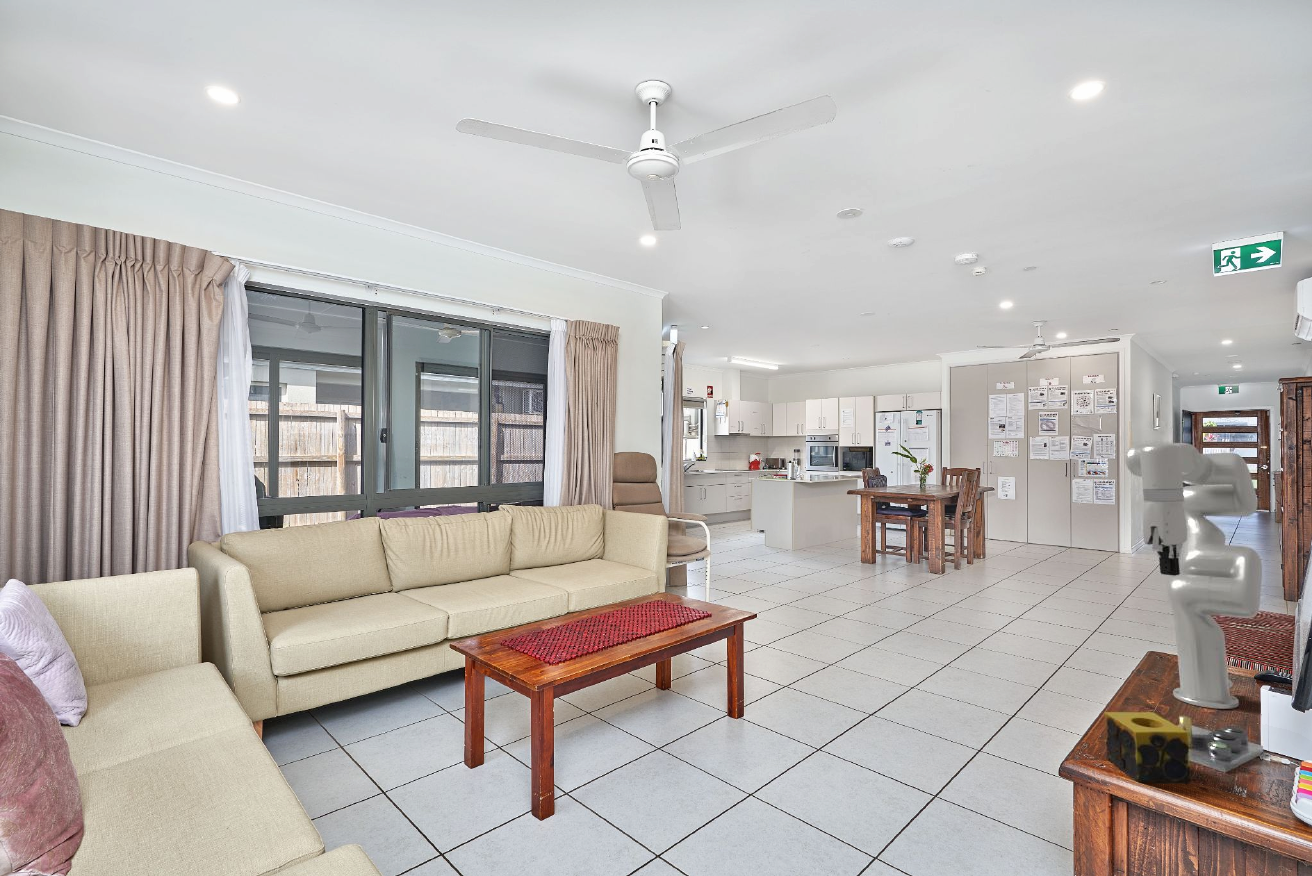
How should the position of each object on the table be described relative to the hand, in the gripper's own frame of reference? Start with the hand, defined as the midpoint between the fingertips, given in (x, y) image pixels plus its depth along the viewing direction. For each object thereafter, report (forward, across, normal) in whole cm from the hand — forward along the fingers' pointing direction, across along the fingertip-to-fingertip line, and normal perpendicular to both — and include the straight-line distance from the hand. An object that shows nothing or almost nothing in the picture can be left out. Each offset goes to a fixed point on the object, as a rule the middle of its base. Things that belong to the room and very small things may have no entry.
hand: (1170, 574), depth 148 cm
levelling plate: (+35, +10, +8) cm, 37 cm away
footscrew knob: (+33, +11, +10) cm, 37 cm away
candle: (+35, +30, +7) cm, 47 cm away
